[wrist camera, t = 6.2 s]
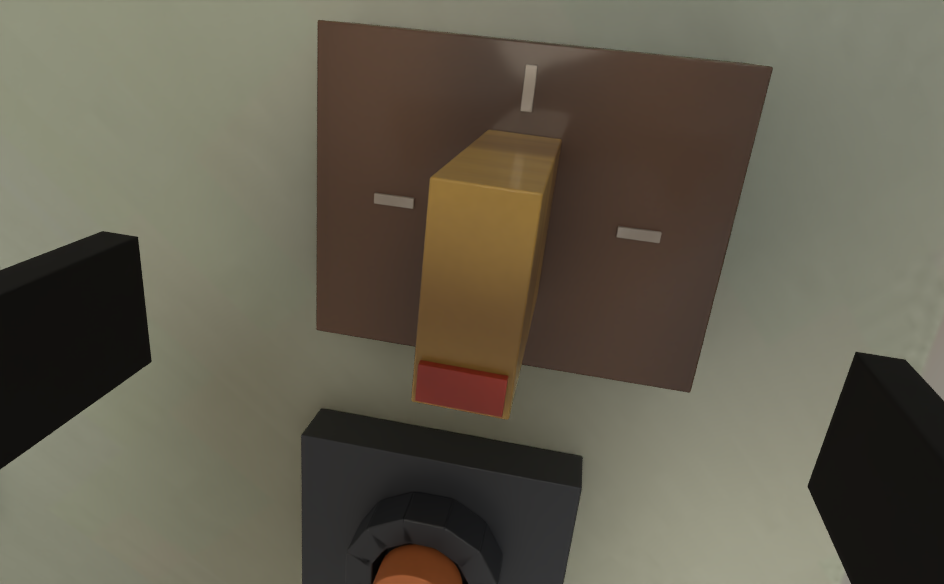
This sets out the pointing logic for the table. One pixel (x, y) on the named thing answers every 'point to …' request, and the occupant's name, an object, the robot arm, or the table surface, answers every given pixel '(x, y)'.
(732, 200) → the plate
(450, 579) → the bell button
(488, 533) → the doorbell
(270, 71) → the table surface
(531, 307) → the tan rectangular block
